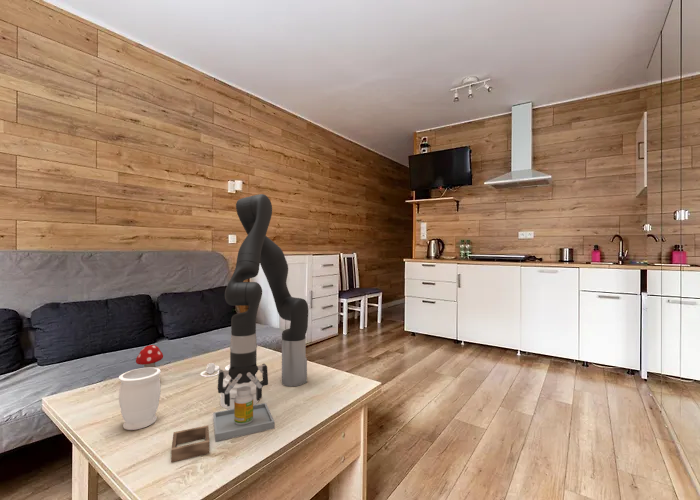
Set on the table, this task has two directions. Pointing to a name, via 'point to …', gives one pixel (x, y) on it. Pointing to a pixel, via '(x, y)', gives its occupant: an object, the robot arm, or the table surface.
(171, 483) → the table surface
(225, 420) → the tray
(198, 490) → the table surface
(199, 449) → the holder
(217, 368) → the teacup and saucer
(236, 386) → the honey pot
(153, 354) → the decorative mushroom
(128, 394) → the jar
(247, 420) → the supplement bottle
